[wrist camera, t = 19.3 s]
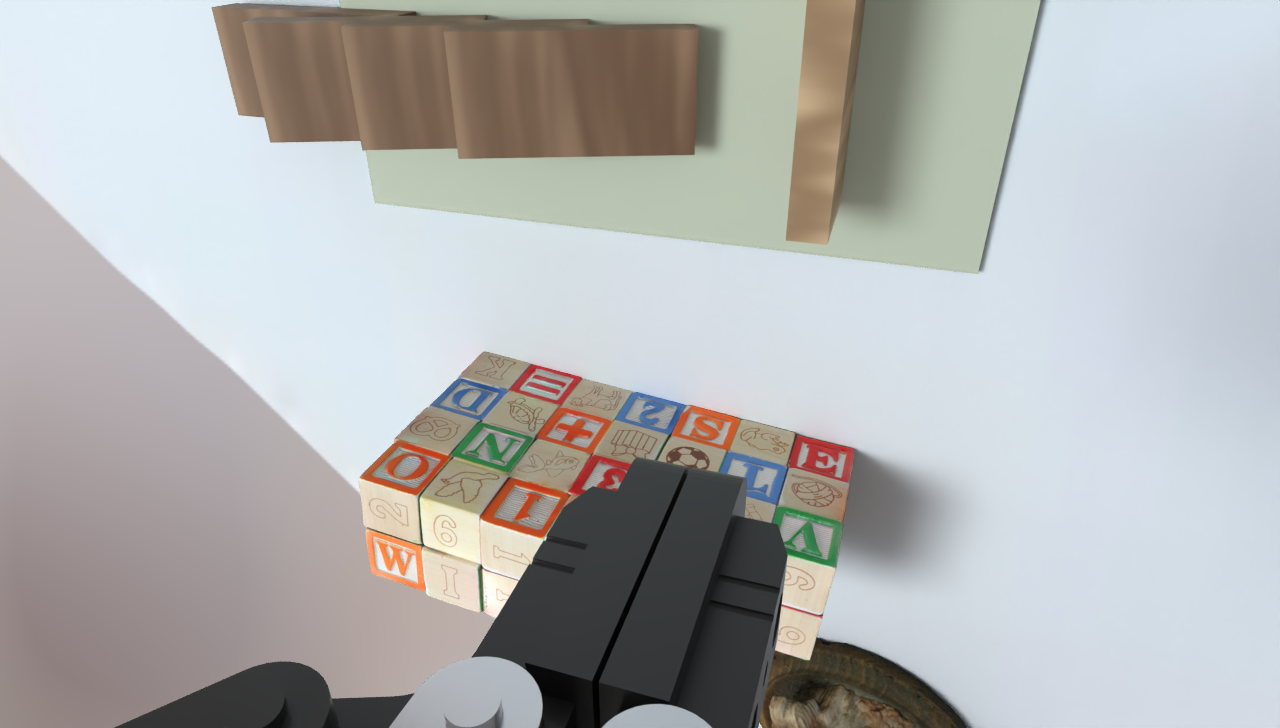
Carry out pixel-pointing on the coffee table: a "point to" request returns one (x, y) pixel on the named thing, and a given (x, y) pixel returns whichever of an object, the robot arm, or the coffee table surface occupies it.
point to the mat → (770, 132)
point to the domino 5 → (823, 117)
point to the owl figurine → (849, 693)
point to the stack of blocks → (580, 483)
